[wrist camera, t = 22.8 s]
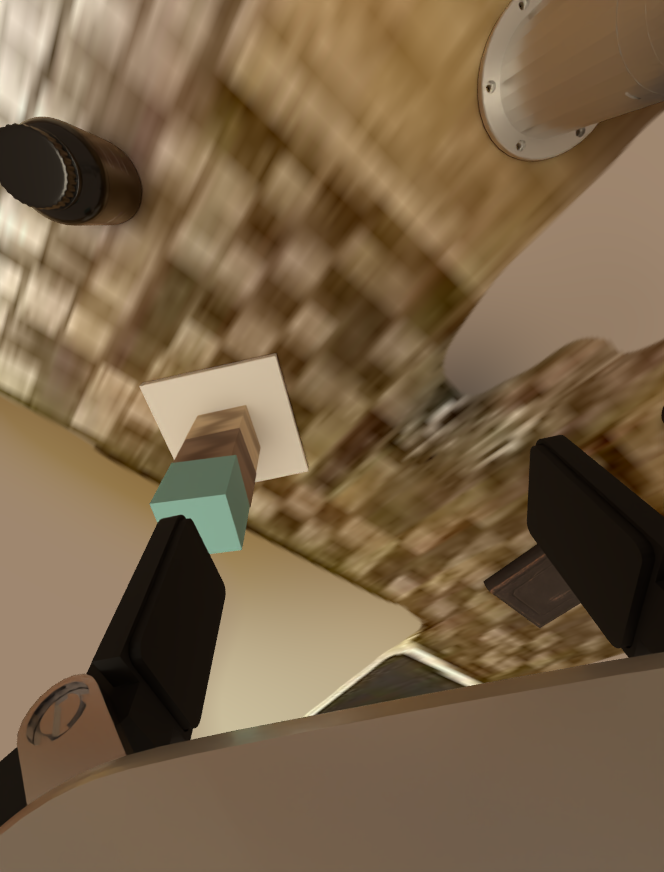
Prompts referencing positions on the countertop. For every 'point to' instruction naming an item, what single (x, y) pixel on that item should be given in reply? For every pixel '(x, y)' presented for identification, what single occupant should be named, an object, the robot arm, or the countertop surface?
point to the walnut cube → (221, 453)
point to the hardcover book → (533, 588)
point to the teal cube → (206, 500)
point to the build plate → (230, 388)
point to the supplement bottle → (67, 173)
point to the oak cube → (228, 427)
